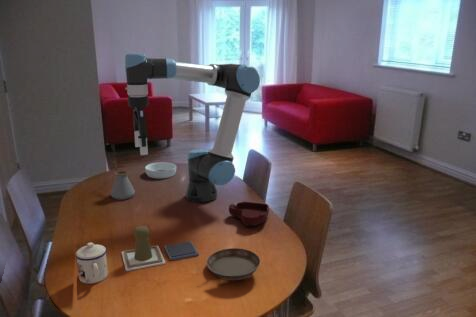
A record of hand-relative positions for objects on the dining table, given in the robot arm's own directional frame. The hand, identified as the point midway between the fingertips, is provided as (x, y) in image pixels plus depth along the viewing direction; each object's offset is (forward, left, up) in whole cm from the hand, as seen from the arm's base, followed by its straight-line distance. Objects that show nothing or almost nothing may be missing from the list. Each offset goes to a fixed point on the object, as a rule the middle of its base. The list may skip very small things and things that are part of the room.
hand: (141, 150), depth 160 cm
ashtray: (-44, +9, -32) cm, 55 cm away
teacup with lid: (+22, +34, -32) cm, 52 cm away
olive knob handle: (+5, +27, -31) cm, 42 cm away
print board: (+6, +27, -32) cm, 42 cm away
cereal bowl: (-18, -60, -32) cm, 70 cm away
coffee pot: (+6, -41, -32) cm, 52 cm away
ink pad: (-8, +27, -32) cm, 42 cm away
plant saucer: (-22, +45, -32) cm, 59 cm away
